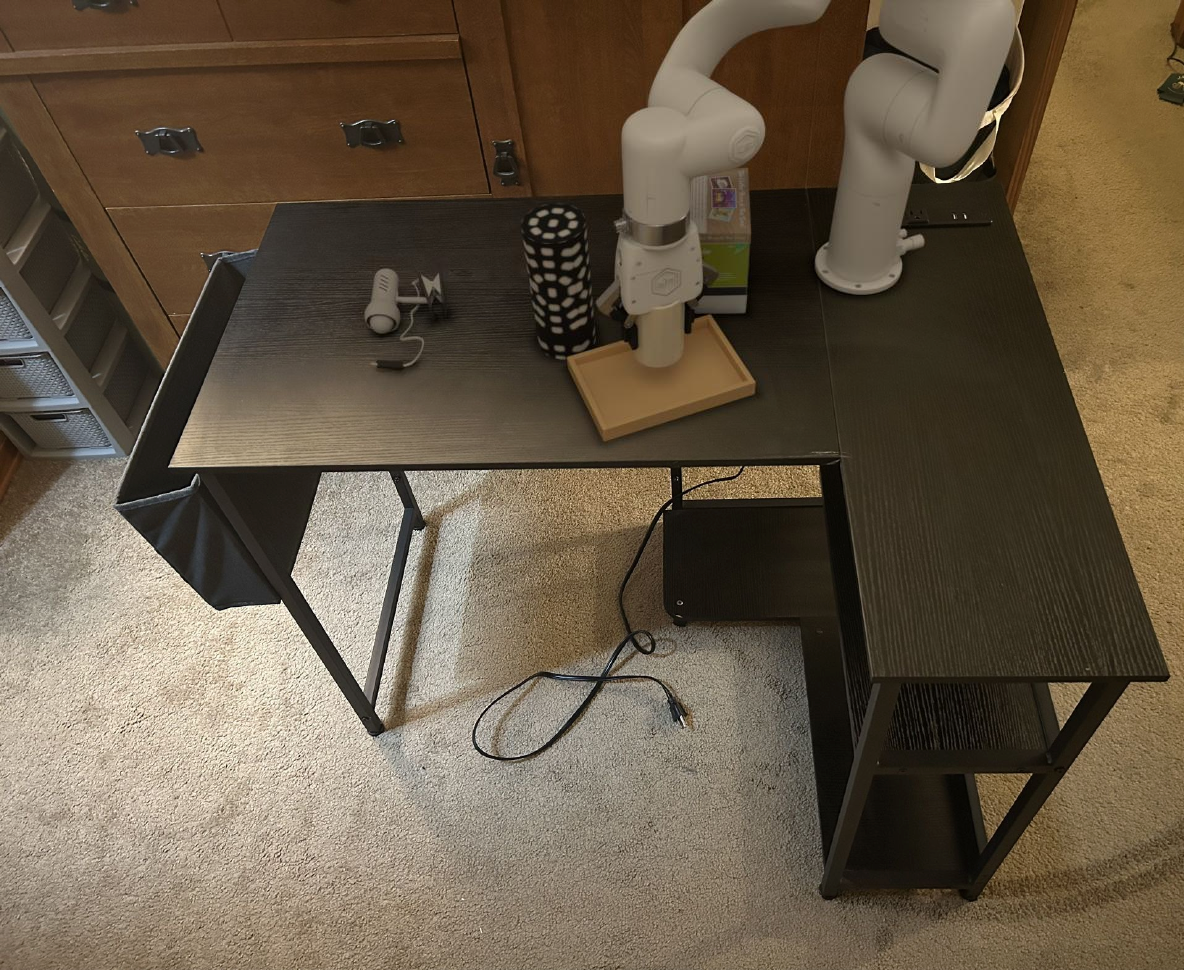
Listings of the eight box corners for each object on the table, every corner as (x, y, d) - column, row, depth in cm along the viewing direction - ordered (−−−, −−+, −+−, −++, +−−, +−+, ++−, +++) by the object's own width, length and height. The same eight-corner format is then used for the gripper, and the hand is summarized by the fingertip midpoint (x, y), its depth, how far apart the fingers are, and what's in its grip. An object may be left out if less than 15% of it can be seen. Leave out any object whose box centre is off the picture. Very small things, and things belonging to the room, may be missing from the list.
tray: (709, 326, 132) (710, 313, 130) (754, 394, 124) (755, 382, 122) (567, 368, 129) (566, 357, 127) (603, 442, 120) (602, 430, 118)
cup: (671, 327, 124) (672, 267, 116) (691, 359, 120) (693, 300, 112) (625, 340, 123) (622, 281, 115) (643, 373, 119) (642, 314, 111)
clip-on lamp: (443, 383, 133) (451, 281, 140) (438, 359, 127) (446, 254, 135) (361, 382, 132) (373, 280, 140) (352, 358, 127) (365, 253, 134)
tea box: (679, 250, 143) (680, 166, 131) (744, 249, 142) (751, 165, 130) (676, 315, 134) (677, 231, 122) (746, 316, 133) (754, 231, 121)
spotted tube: (589, 362, 129) (578, 246, 114) (532, 356, 131) (513, 241, 115) (600, 322, 134) (591, 205, 118) (545, 317, 136) (529, 201, 120)
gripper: (597, 258, 102) (605, 373, 116) (740, 218, 104) (731, 335, 119) (575, 220, 106) (585, 335, 120) (713, 183, 109) (707, 299, 123)
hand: (657, 334), depth 119 cm, fingers closed on cup, 6 cm apart
